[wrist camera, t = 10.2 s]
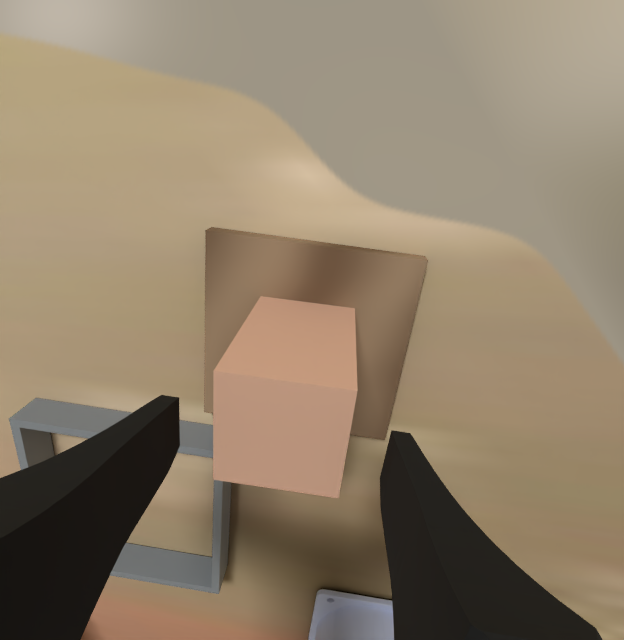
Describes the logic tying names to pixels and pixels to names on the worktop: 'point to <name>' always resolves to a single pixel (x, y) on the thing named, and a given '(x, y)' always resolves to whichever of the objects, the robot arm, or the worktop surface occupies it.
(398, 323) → the board
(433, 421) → the worktop surface
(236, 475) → the block
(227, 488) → the square frame
